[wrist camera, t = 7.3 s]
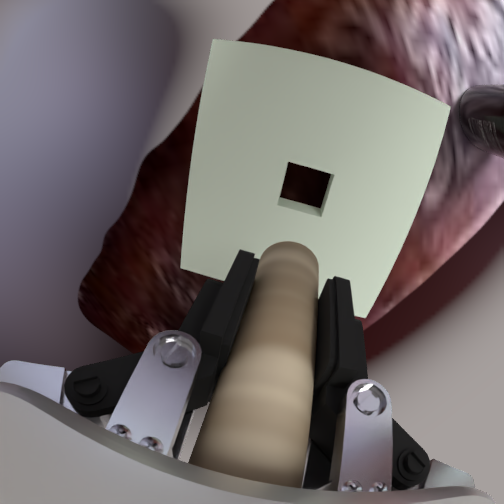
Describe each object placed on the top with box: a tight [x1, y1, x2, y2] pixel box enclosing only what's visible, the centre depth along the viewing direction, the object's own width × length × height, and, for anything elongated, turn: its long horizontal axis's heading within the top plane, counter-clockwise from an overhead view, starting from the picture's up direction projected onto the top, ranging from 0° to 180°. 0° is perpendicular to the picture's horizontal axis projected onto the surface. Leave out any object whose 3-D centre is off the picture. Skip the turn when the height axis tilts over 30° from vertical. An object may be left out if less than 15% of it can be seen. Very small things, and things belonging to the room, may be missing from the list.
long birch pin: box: [188, 241, 319, 488], centre depth 7 cm, size 2×2×11 cm
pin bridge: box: [180, 39, 451, 318], centre depth 23 cm, size 20×18×6 cm
